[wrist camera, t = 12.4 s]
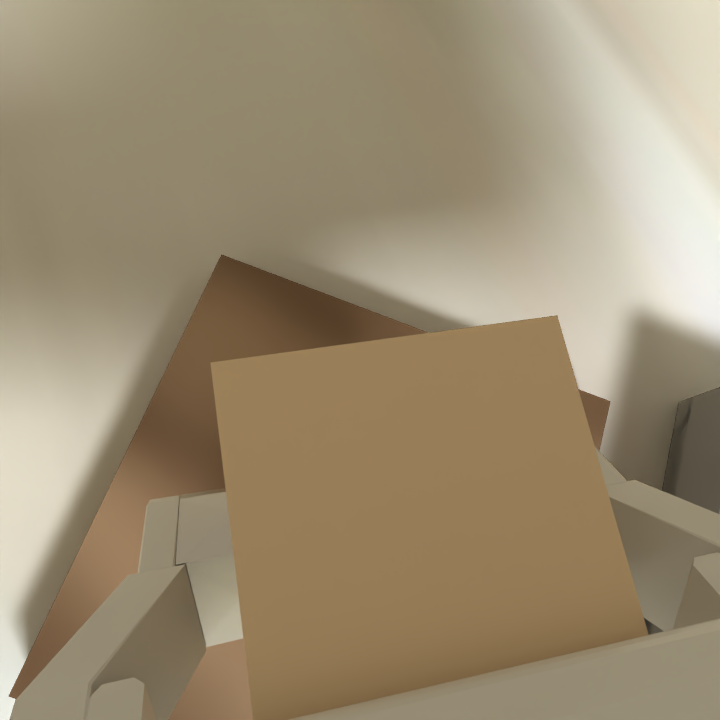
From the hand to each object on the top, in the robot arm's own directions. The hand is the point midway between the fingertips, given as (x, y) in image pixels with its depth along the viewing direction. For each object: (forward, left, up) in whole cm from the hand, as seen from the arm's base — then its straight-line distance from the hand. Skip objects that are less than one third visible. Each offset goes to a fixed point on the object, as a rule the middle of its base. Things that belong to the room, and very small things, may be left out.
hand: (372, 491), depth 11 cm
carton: (+1, 0, -4) cm, 4 cm away
